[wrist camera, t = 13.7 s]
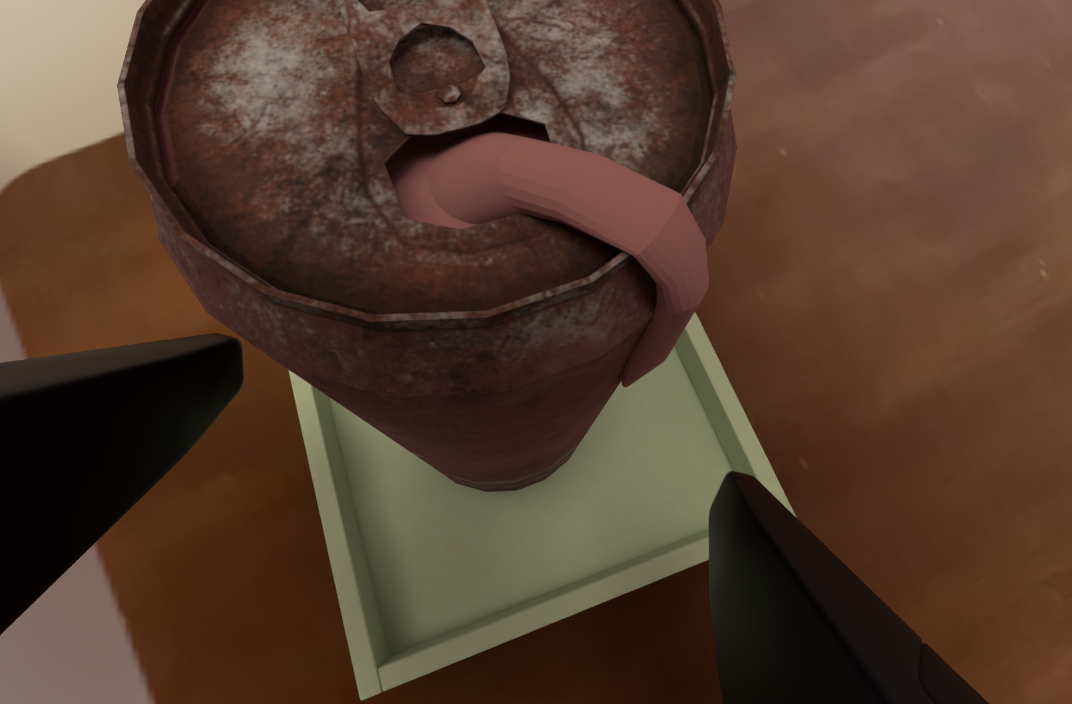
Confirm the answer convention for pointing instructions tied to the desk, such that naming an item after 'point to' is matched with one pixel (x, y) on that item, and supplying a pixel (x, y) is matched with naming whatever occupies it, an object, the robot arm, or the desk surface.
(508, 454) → the can
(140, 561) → the desk surface
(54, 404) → the robot arm
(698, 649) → the desk surface
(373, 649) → the tray
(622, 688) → the desk surface
